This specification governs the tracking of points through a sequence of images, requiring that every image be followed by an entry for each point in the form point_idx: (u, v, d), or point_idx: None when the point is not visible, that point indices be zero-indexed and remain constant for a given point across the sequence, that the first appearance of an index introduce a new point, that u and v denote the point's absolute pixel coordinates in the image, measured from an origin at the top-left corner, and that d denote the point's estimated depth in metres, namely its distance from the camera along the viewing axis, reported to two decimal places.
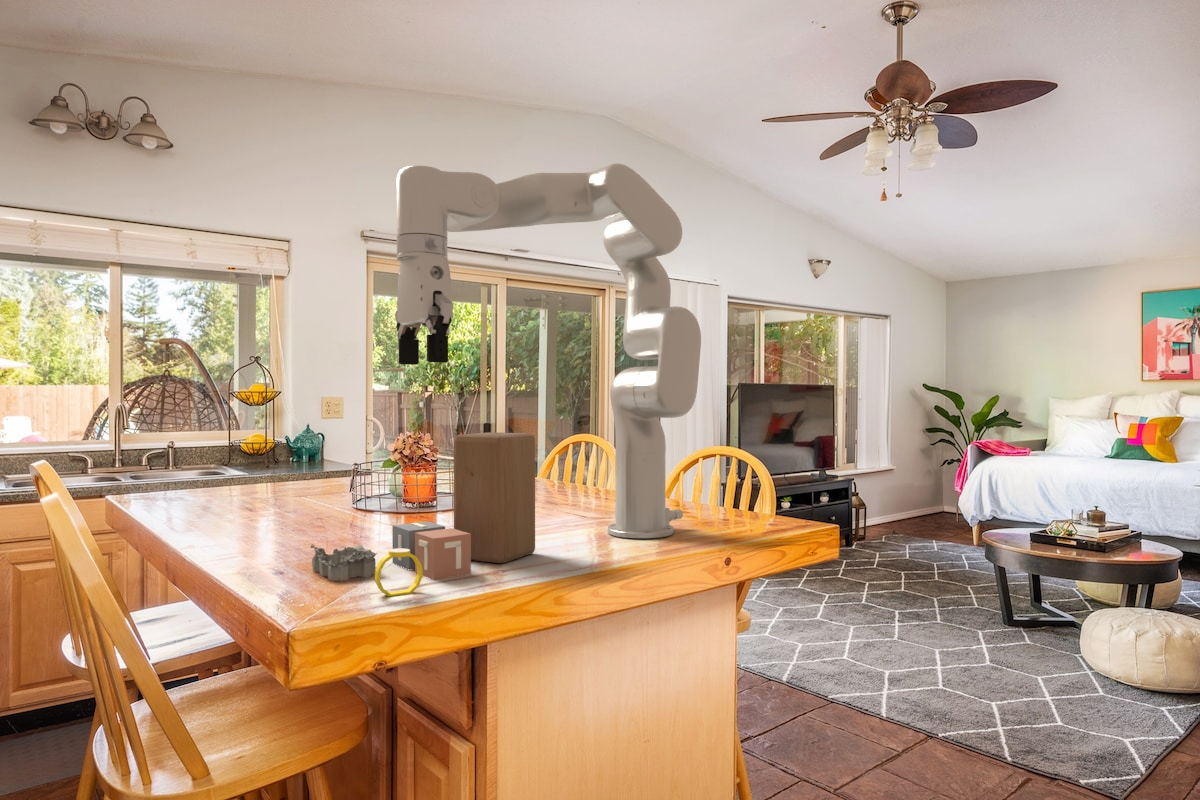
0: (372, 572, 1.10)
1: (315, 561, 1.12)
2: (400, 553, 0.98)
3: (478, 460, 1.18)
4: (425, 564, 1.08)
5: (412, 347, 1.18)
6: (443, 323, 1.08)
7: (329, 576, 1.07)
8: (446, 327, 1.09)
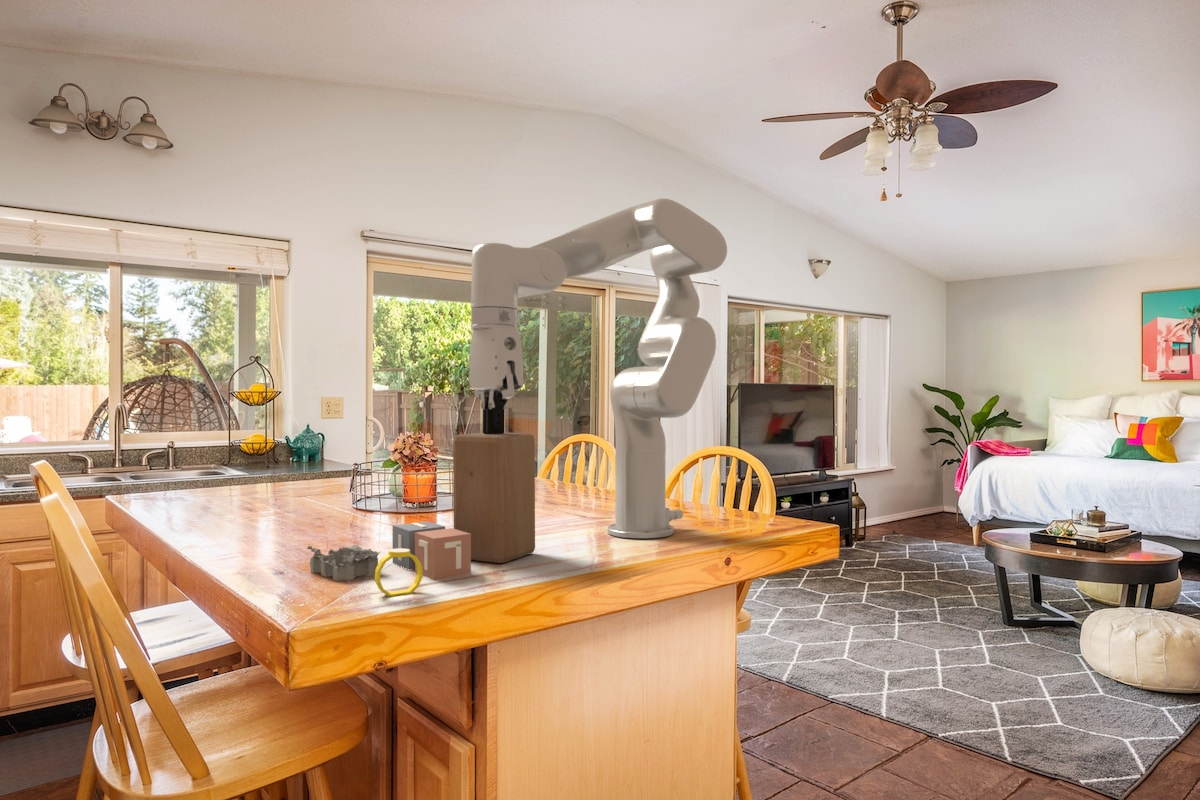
0: None
1: (314, 562, 1.11)
2: (400, 553, 0.98)
3: (477, 460, 1.17)
4: (425, 564, 1.08)
5: None
6: None
7: (334, 576, 1.07)
8: (504, 403, 1.20)
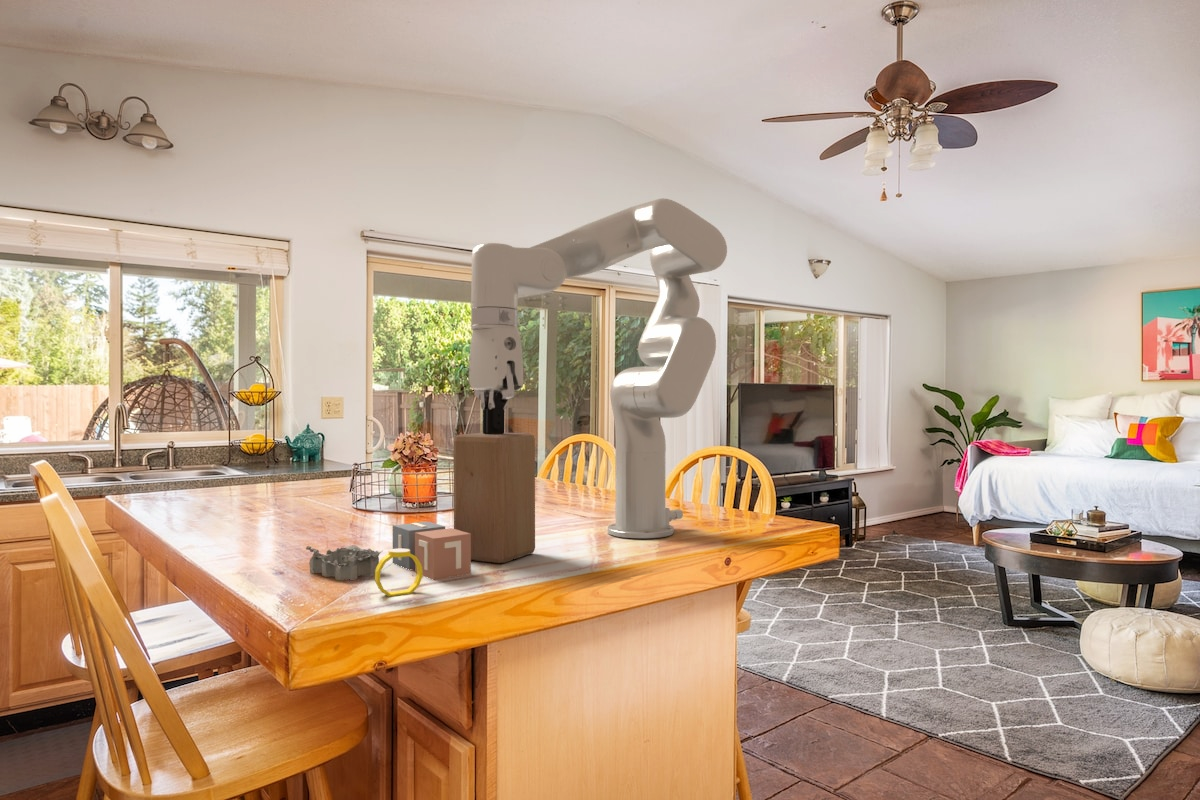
0: None
1: (314, 562, 1.11)
2: (400, 553, 0.98)
3: (477, 460, 1.18)
4: (425, 564, 1.08)
5: None
6: None
7: (337, 576, 1.07)
8: (504, 403, 1.20)
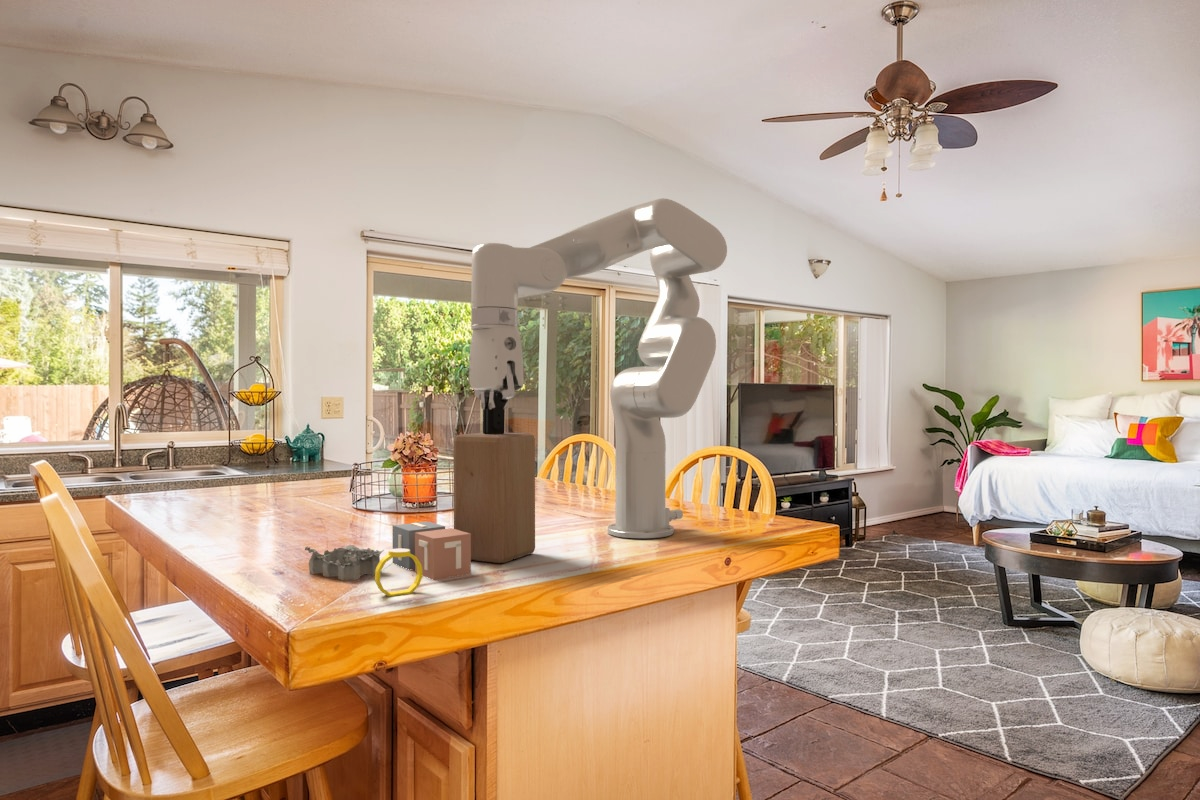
0: None
1: (314, 562, 1.10)
2: (400, 553, 0.98)
3: (477, 460, 1.18)
4: (425, 564, 1.08)
5: None
6: None
7: (340, 576, 1.07)
8: (504, 403, 1.20)
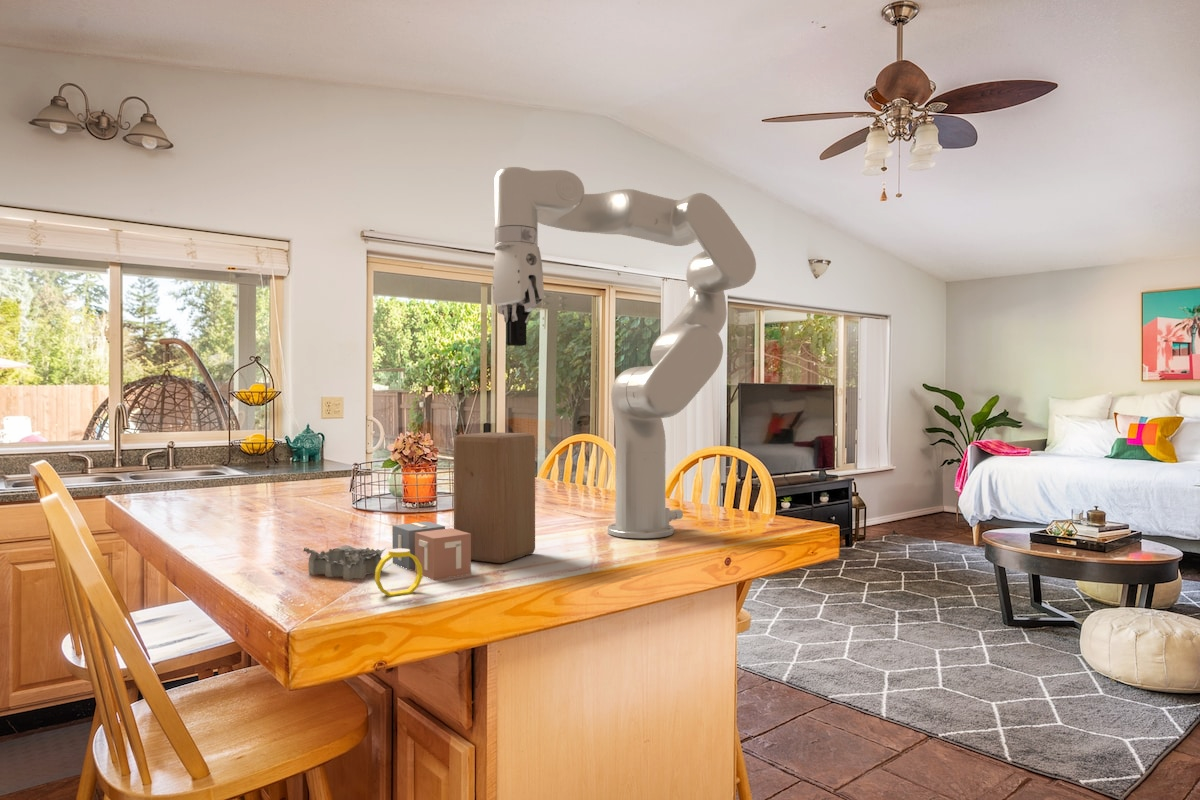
0: None
1: (314, 563, 1.10)
2: (400, 553, 0.98)
3: (478, 460, 1.18)
4: (425, 564, 1.08)
5: None
6: (522, 312, 1.30)
7: (346, 575, 1.07)
8: (526, 315, 1.30)
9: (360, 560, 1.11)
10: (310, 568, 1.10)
